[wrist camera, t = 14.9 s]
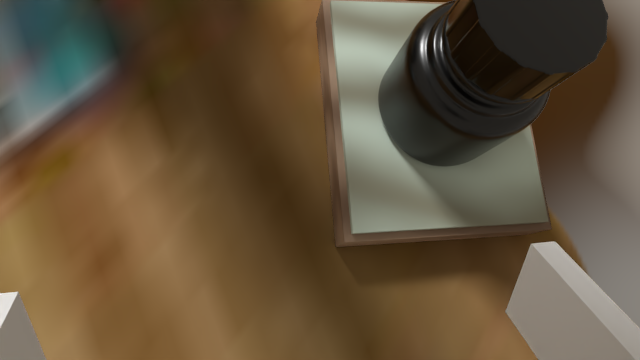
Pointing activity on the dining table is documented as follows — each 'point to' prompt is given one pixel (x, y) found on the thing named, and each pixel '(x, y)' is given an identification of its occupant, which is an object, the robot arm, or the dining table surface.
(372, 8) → the mat platform
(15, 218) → the dining table surface
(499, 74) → the ink bottle
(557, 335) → the robot arm
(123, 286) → the dining table surface
